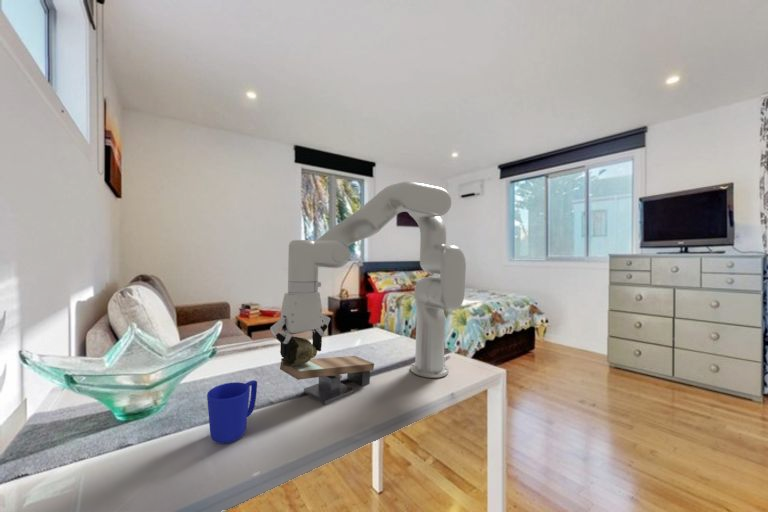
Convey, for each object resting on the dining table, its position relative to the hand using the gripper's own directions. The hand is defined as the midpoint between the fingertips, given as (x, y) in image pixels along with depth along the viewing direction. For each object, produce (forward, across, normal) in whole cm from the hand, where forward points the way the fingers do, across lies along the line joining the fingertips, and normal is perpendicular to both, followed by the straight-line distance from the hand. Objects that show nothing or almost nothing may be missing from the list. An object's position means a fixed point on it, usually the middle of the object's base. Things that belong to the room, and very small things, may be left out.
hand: (301, 353), depth 83 cm
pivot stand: (+13, -13, 0) cm, 18 cm away
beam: (+7, -9, 0) cm, 11 cm away
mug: (+13, +17, +1) cm, 22 cm away
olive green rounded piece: (0, -4, 0) cm, 4 cm away
